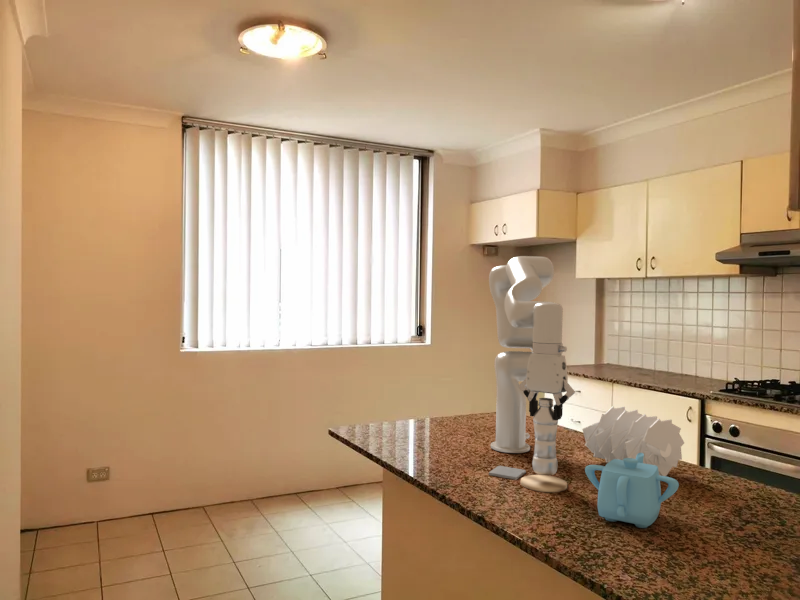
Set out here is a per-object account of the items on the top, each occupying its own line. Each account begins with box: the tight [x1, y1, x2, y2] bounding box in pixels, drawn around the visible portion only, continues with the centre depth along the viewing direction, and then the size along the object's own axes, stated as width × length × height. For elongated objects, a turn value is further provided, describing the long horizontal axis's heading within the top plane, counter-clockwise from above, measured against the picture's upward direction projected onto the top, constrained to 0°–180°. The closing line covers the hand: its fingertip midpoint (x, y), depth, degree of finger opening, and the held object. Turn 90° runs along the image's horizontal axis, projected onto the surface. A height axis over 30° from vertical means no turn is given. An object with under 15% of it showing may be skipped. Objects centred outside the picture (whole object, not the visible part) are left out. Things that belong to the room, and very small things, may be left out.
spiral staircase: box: [582, 405, 685, 477], centre depth 175 cm, size 18×18×25 cm
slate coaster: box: [488, 465, 527, 481], centre depth 169 cm, size 8×8×1 cm
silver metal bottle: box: [531, 397, 559, 476], centre depth 160 cm, size 6×7×20 cm
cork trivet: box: [520, 474, 568, 493], centre depth 160 cm, size 12×12×1 cm
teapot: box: [584, 453, 680, 529], centre depth 138 cm, size 18×16×14 cm
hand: (545, 416), depth 160 cm, fingers closed on silver metal bottle, 6 cm apart
